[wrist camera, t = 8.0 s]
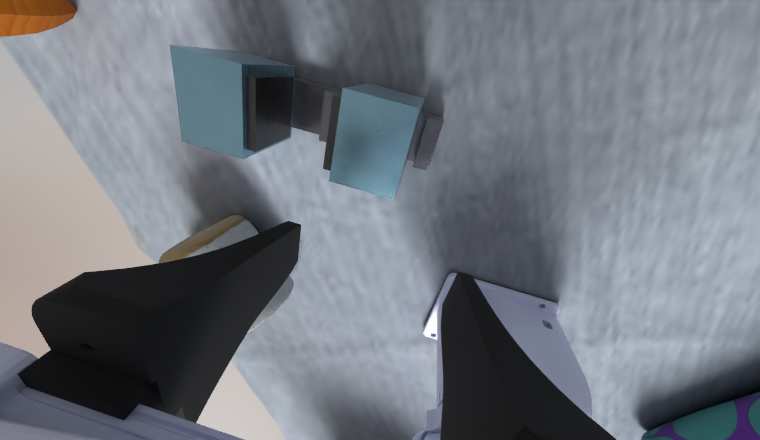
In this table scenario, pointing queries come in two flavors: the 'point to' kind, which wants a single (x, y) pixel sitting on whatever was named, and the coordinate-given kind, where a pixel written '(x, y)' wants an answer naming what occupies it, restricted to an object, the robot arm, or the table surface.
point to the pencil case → (715, 423)
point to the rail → (260, 104)
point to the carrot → (33, 15)
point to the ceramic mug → (221, 237)
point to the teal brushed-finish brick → (371, 137)
